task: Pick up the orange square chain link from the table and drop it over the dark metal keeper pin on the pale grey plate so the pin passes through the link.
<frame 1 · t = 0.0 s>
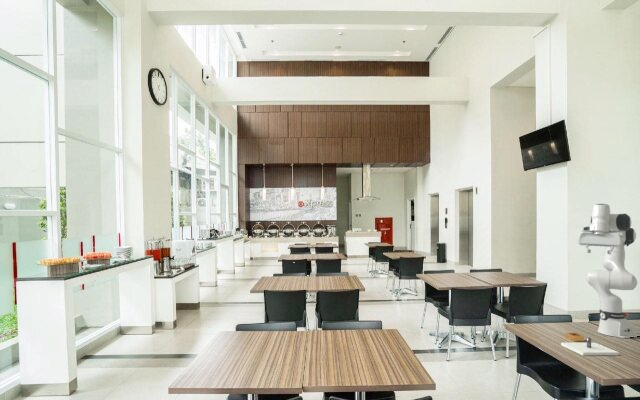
hand: (598, 253, 217), 52 cm above the table, tool tilted 20°, fingers open, 8 cm apart
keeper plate: (589, 350, 208), on the table
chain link: (574, 339, 226), on the table
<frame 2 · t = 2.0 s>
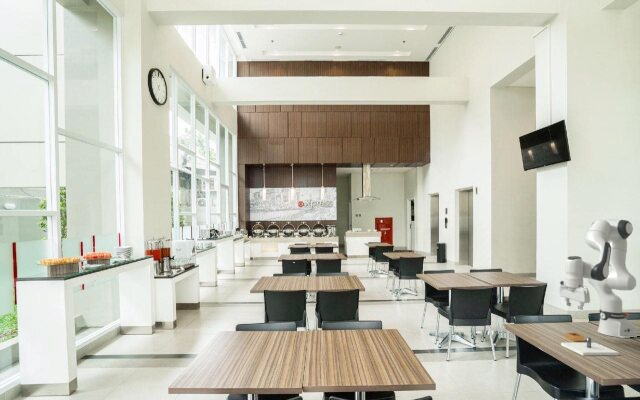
hand: (574, 307, 227), 19 cm above the table, tool pointing down, fingers open, 8 cm apart
nothing on the table moved.
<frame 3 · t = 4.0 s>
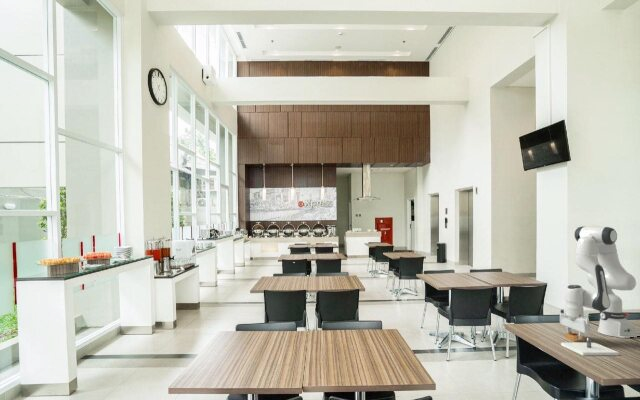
hand: (574, 336, 226), 2 cm above the table, tool pointing down, fingers closed on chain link, 6 cm apart
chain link: (574, 339, 226), on the table, touching gripper
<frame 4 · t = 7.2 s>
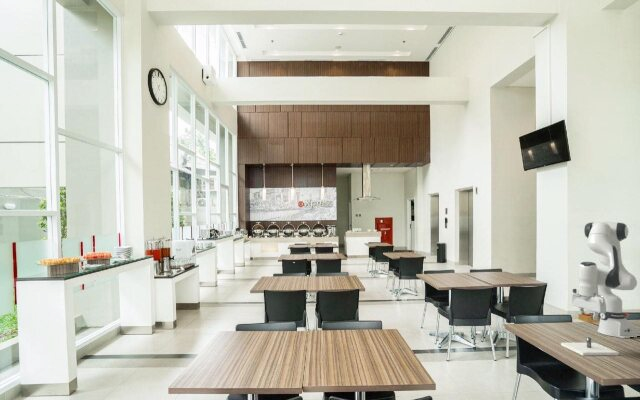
hand: (588, 317, 208), 17 cm above the table, tool pointing down, fingers closed on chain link, 6 cm apart
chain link: (588, 320, 208), point 16 cm above the table, touching gripper
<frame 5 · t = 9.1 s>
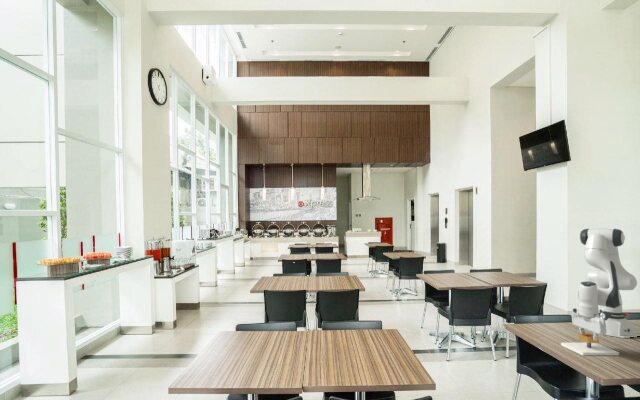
hand: (588, 338, 208), 6 cm above the table, tool pointing down, fingers closed on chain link, 6 cm apart
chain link: (588, 341, 208), point 5 cm above the table, touching gripper
when the fingers open (5 cm above the table, at t = 10.5 s): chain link drops 1 cm, resting on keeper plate.
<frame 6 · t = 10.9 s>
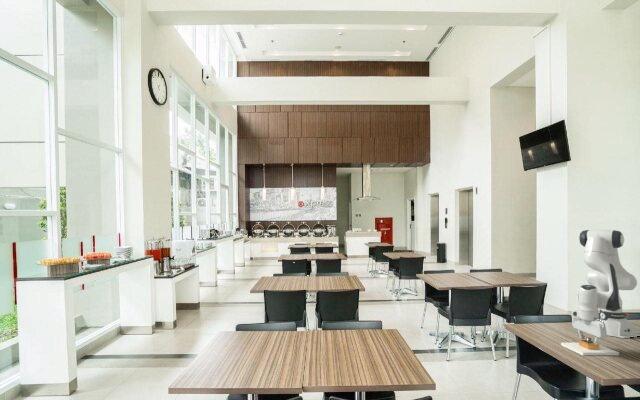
hand: (588, 341, 208), 5 cm above the table, tool pointing down, fingers open, 8 cm apart
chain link: (588, 347, 208), point 1 cm above the table, touching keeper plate
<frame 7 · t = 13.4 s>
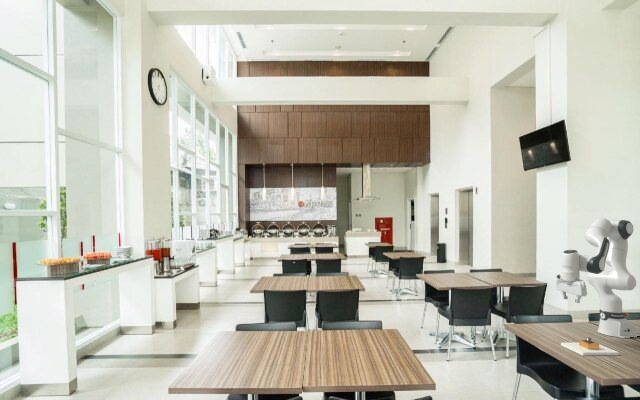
hand: (571, 300, 228), 22 cm above the table, tool pointing down, fingers open, 8 cm apart
nothing on the table moved.
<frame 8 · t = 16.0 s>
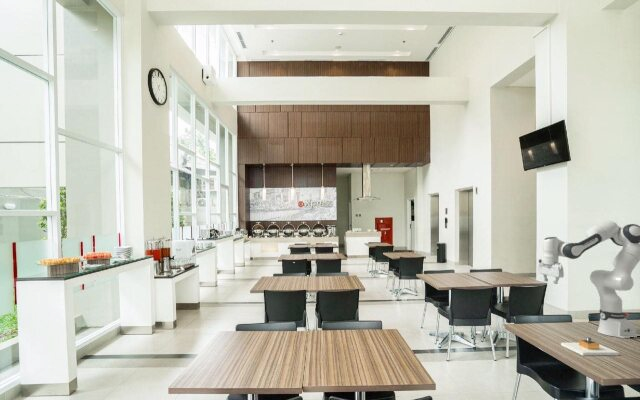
hand: (550, 282, 254), 29 cm above the table, tool pointing down, fingers open, 8 cm apart
nothing on the table moved.
at the end: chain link 0.0 cm off-centre on the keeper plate, point 1.5 cm above the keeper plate's base; the gripper is holding nothing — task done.
